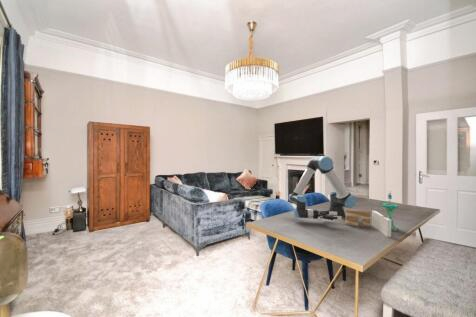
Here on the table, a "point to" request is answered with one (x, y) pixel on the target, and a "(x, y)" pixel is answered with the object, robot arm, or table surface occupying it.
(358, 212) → the tan faceted tapered block
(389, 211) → the hanging basket ornament
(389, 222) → the cream slotted board
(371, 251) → the table surface
